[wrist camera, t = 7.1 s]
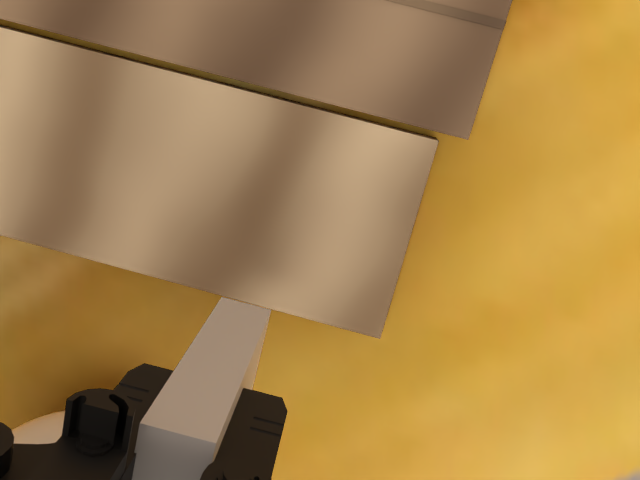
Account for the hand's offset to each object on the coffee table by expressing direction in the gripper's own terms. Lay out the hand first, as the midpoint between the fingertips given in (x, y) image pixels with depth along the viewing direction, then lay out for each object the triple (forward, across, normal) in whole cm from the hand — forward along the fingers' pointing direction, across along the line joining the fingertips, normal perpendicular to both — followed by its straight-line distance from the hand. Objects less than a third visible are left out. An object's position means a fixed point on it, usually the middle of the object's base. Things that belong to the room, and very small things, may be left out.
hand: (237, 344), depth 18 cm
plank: (+8, -9, +3) cm, 12 cm away
